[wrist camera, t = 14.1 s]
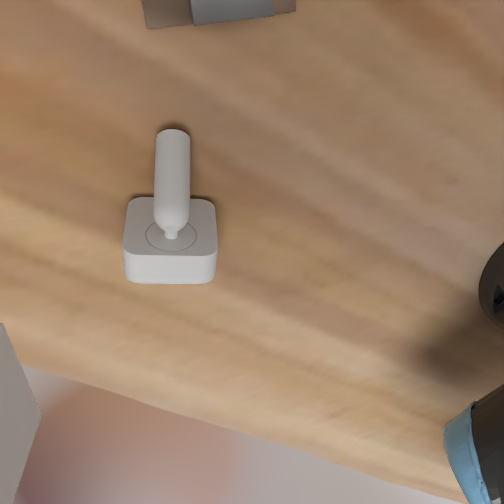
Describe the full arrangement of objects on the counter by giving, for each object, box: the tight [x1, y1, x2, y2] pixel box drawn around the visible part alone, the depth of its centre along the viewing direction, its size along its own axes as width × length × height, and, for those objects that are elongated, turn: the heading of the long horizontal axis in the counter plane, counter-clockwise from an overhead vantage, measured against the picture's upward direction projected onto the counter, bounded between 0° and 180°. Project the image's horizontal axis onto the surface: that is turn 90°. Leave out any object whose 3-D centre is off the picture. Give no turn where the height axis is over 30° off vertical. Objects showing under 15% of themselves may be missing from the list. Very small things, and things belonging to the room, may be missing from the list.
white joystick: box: [122, 129, 218, 284], centre depth 41 cm, size 8×10×10 cm
